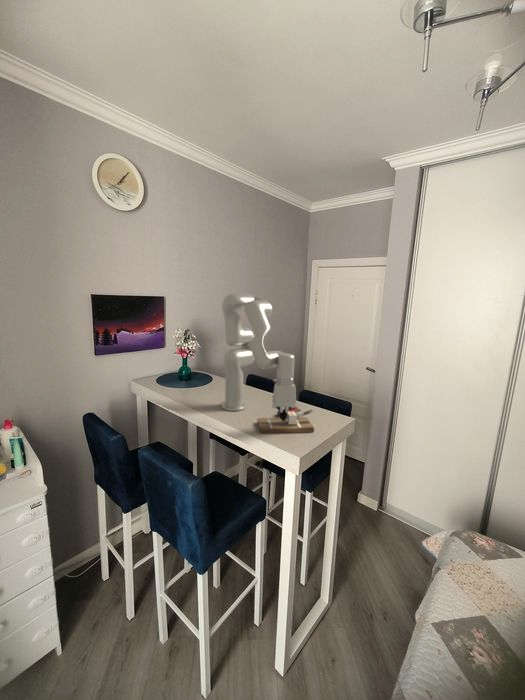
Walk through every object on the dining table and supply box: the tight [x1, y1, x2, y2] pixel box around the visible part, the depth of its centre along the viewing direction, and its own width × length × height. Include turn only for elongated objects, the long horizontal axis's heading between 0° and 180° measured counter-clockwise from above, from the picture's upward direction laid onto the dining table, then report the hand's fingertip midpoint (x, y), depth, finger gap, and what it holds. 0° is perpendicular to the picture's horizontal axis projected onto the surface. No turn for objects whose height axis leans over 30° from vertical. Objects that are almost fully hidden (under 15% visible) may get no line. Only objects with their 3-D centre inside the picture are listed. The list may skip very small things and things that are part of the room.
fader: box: [286, 411, 298, 425], centre depth 142 cm, size 5×4×4 cm
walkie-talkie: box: [276, 406, 314, 418], centre depth 158 cm, size 9×4×20 cm
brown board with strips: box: [256, 416, 315, 435], centre depth 142 cm, size 12×24×2 cm, turn 98°
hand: (283, 419), depth 141 cm, fingers closed
